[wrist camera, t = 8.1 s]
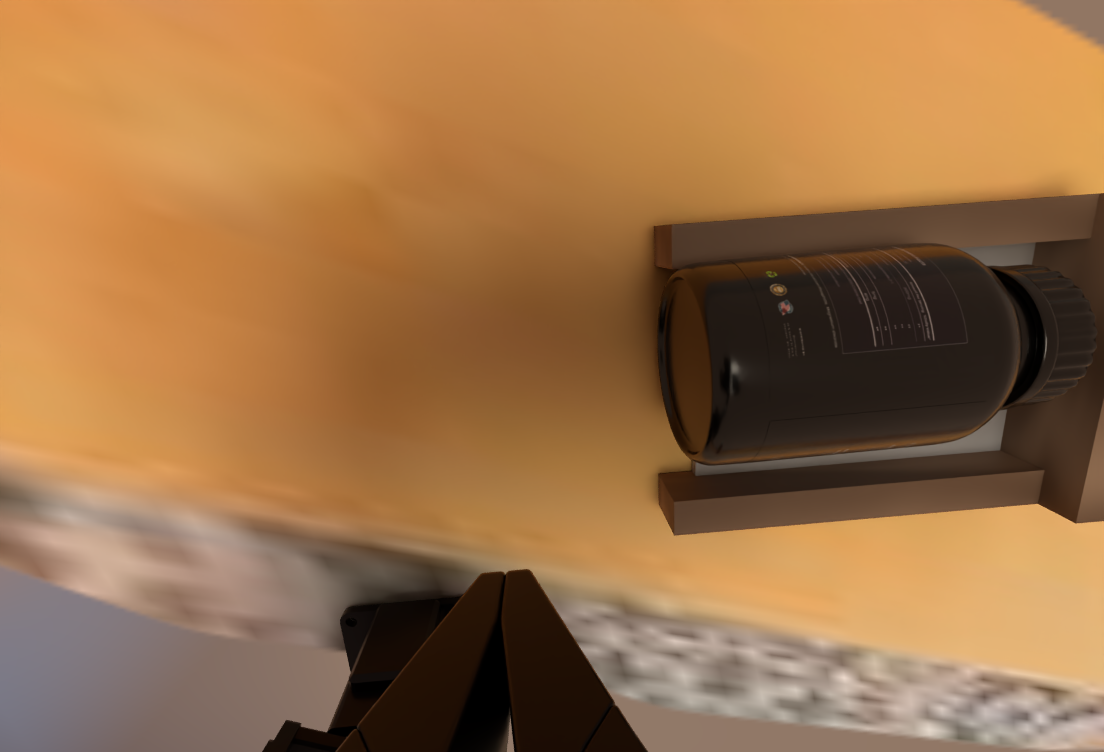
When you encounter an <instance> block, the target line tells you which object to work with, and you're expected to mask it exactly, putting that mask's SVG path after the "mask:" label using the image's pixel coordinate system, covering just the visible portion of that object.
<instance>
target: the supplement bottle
mask: <svg viewBox="0 0 1104 752" xmlns="http://www.w3.org/2000/svg"><path fill="white" fill-rule="evenodd" d="M1095 317H1096V316H1095V315H1094V313H1093V312H1092V311H1091V305H1090V301H1088V300H1087V299H1086V298H1085V297H1084V294H1083V291H1082V289H1080V288H1079V287H1077V286H1075V285H1074V283H1073V281H1072V280H1071V279H1070V278H1066V277H1064V276H1063V275H1062V274H1061V273H1060V272H1059V271H1051V270H1049V268H1047V267H1045V266H1034V265H1029V264H1025V265H1013V266H986V265H985V264H984V263H982V262H981V261H980V260H978V259H977V258H975V257H973V256H972V255H970V254H968V253H966V252H964V251H962V250H960V249H957V248H954V247H951V246H948V245H943V244H937V243H910V244H898V245H887V246H875V247H864V248H852V249H841V250H829V251H818V252H807V253H795V254H784V255H772V256H761V257H749V258H738V259H727V260H719V261H708V262H698V263H692V264H688V265H685V266H683V267H681V268H680V269H678V270H677V271H676V272H675V273H673V275H672V276H671V277H670V278H669V280H668V281H667V283H666V286H665V288H664V291H663V294H662V298H661V303H660V309H659V318H658V363H659V374H660V382H661V389H662V395H663V400H664V405H665V409H666V413H667V417H668V421H669V424H670V427H671V430H672V432H673V435H674V437H675V439H676V441H677V443H678V445H679V447H680V448H681V450H682V451H683V453H684V454H685V455H686V456H687V457H689V458H690V459H691V460H693V461H695V462H697V463H699V464H702V465H707V466H717V465H729V464H743V463H753V462H764V461H774V460H784V459H795V458H805V457H815V456H825V455H836V454H846V453H856V452H867V451H877V450H887V449H898V448H908V447H918V446H928V445H936V444H943V443H948V442H952V441H956V440H959V439H961V438H964V437H966V436H968V435H970V434H972V433H974V432H975V431H977V430H978V429H980V428H981V427H982V426H984V425H985V424H986V423H987V422H989V421H990V420H991V419H992V418H993V417H994V416H995V415H996V414H997V413H998V411H999V410H1006V409H1011V408H1014V407H1017V406H1024V405H1033V404H1037V403H1040V402H1048V401H1051V400H1053V399H1054V398H1055V397H1057V396H1062V395H1064V394H1065V393H1066V392H1067V391H1068V389H1070V388H1073V387H1075V386H1076V385H1077V384H1078V381H1079V379H1080V378H1083V377H1084V376H1085V375H1086V372H1087V367H1088V366H1089V365H1090V364H1091V363H1092V362H1093V353H1094V351H1095V350H1096V348H1097V345H1096V340H1095V339H1096V336H1097V333H1098V331H1097V328H1096V326H1095Z"/></svg>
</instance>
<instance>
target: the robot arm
mask: <svg viewBox="0 0 1104 752" xmlns="http://www.w3.org/2000/svg"><path fill="white" fill-rule="evenodd" d="M350 617H352V618H355V619H356V621H355V620H351V619H350ZM340 624H341V629H342V634H343V638H344V643H345V648H346V653H347V657H348V662H349V667H350V671H351V674H350V676H349V680H348V683H347V685H346V687H345V690H344V692H343V695H342V697H341V700H340V702H339V705H338V707H337V709H336V712H335V714H334V717H333V719H332V722H331V724H330V727H329V729H328V731H327V732H323V731H318V730H314V729H309V728H305V727H301V723H298V722H293V721H289V720H286V721H285V723H284V725H283V726H282V728H281V729H280V731H279V733H278V734H277V736H276V738H275V739H274V740H269V741H268V743H267V745H266V746H265V748H264V750H263V751H262V752H507V743H508V734H509V722H510V717H511V725H512V734H513V744H514V752H648V751H647V750H646V748H645V747H644V745H643V744H642V742H641V741H640V739H639V738H638V736H637V735H636V734H635V732H634V731H633V729H632V728H631V726H630V725H629V723H628V722H627V720H626V718H625V717H624V715H623V714H622V712H621V711H620V709H619V708H618V707H617V706H616V705H615V702H614V700H613V699H612V697H611V695H610V694H609V692H608V691H607V689H606V688H605V686H604V684H603V683H602V681H601V680H600V678H599V677H598V675H597V673H596V672H595V670H594V669H593V667H592V666H591V664H590V663H589V661H588V659H587V658H586V656H585V655H584V653H583V652H582V650H581V648H580V647H579V645H578V644H577V642H576V641H575V639H574V637H573V636H572V634H571V633H570V631H569V630H568V628H567V626H566V625H565V623H564V622H563V620H562V619H561V617H560V616H559V614H558V612H557V611H556V609H555V608H554V606H553V605H552V603H551V601H550V600H549V598H548V597H547V595H546V594H545V592H544V590H543V589H542V587H541V586H540V584H539V583H538V581H537V579H536V578H535V576H534V575H533V573H532V572H531V571H530V570H529V569H524V570H512V571H508V572H507V573H506V575H505V573H504V572H489V573H482V574H480V575H479V576H478V578H477V579H476V580H475V581H474V582H473V584H472V585H471V586H470V587H469V589H468V590H467V591H466V592H465V594H464V595H463V596H462V597H455V598H443V599H431V600H419V601H408V602H397V603H386V604H377V605H365V606H354V607H349V608H347V609H346V610H345V611H344V613H343V615H342V617H341V619H340Z"/></svg>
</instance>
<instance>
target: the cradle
mask: <svg viewBox="0 0 1104 752" xmlns="http://www.w3.org/2000/svg"><path fill="white" fill-rule="evenodd" d="M654 239H655V266H658V267H663V268H668V269H680V268H681V267H683V266H685V265H688V264H692V263H698V262H708V261H719V260H727V259H738V258H749V257H761V256H772V255H784V254H795V253H807V252H818V251H829V250H841V249H852V248H864V247H875V246H887V245H898V244H910V243H937V244H943V245H948V246H951V247H954V248H957V249H960V250H962V251H964V252H966V253H968V254H970V255H972V256H973V257H975V258H977V259H978V260H980V261H981V262H982V263H984V264H985V265H986V266H1013V265H1025V264H1029V265H1034V266H1045V267H1047V268H1049V270H1051V271H1059V272H1060V273H1061V274H1062V275H1063V276H1064V277H1066V278H1070V279H1071V280H1072V281H1073V283H1074V285H1075V286H1077V287H1079V288H1080V289H1082V291H1083V294H1084V297H1085V298H1086V299H1087V300H1088V301H1090V305H1091V311H1092V312H1093V313H1094V315H1095V316H1096V317H1095V326H1096V328H1097V331H1098V333H1097V336H1096V339H1095V340H1096V345H1097V348H1096V350H1095V351H1094V353H1093V362H1092V363H1091V364H1090V365H1089V366H1088V367H1087V372H1086V375H1085V376H1084V377H1083V378H1080V379H1079V381H1078V384H1077V385H1076V386H1075V387H1073V388H1070V389H1068V391H1067V392H1066V393H1065V394H1064V395H1062V396H1057V397H1055V398H1054V399H1053V400H1051V401H1048V402H1040V403H1037V404H1033V405H1024V406H1017V407H1014V408H1011V409H1006V410H999V411H998V413H997V414H996V415H995V416H994V417H993V418H992V419H991V420H990V421H989V422H987V423H986V424H985V425H984V426H982V427H981V428H980V429H978V430H977V431H975V432H974V433H972V434H970V435H968V436H966V437H964V438H961V439H959V440H956V441H952V442H948V443H943V444H936V445H928V446H918V447H908V448H898V449H887V450H877V451H867V452H856V453H846V454H836V455H825V456H815V457H805V458H795V459H784V460H774V461H764V462H753V463H743V464H729V465H717V466H707V465H702V464H699V463H697V462H695V461H693V460H692V471H686V472H674V473H662V474H658V476H659V505H660V507H661V509H662V511H663V513H664V515H665V518H666V520H667V522H668V524H669V526H670V528H671V530H672V532H673V534H674V536H675V535H686V534H697V533H709V532H720V531H732V530H743V529H754V528H766V527H777V526H789V525H800V524H811V523H823V522H834V521H846V520H857V519H868V518H880V517H891V516H903V515H914V514H926V513H937V512H948V511H960V510H971V509H983V508H994V507H1005V506H1017V505H1028V504H1040V505H1041V506H1043V507H1045V508H1047V509H1049V510H1051V511H1053V512H1055V513H1057V514H1059V515H1061V516H1063V517H1065V518H1067V519H1068V520H1070V521H1072V522H1074V523H1086V522H1097V521H1104V193H1101V194H1087V195H1073V196H1059V197H1046V198H1032V199H1018V200H1004V201H990V202H976V203H963V204H949V205H935V206H921V207H907V208H894V209H880V210H866V211H852V212H838V213H824V214H811V215H797V216H783V217H769V218H755V219H742V220H728V221H714V222H700V223H686V224H672V225H663V226H654Z"/></svg>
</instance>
